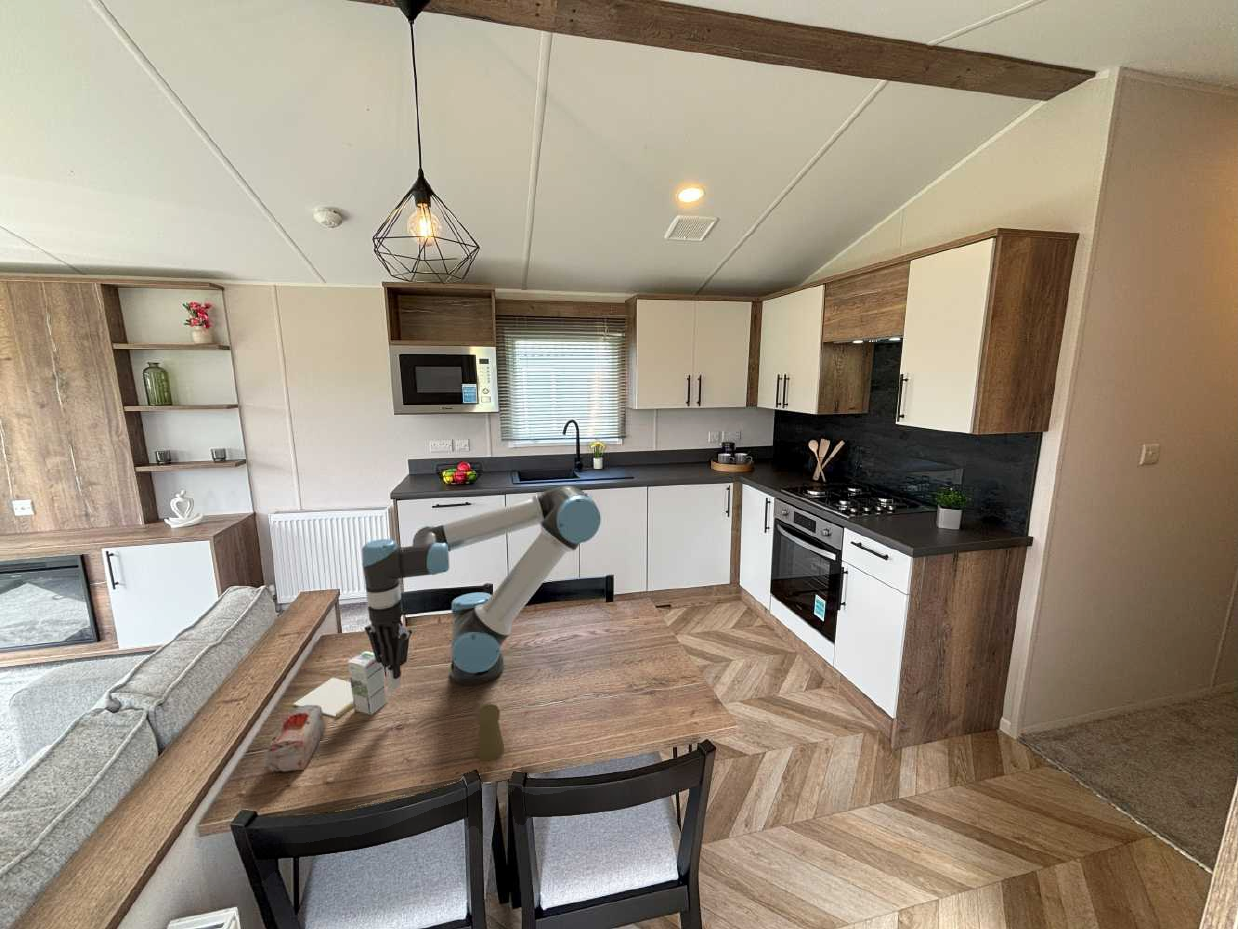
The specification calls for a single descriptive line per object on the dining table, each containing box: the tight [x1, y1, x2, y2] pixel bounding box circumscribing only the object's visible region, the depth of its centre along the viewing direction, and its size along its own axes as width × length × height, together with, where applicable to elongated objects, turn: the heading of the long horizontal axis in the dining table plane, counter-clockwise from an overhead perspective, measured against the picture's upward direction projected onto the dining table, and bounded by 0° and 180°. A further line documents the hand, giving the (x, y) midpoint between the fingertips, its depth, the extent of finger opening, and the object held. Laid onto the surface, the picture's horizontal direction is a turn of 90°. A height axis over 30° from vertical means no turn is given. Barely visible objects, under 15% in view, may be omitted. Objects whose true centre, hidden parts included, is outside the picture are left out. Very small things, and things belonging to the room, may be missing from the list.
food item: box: [265, 705, 326, 773], centre depth 114 cm, size 14×8×10 cm, turn 13°
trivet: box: [292, 677, 354, 719], centre depth 134 cm, size 16×12×1 cm
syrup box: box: [347, 650, 388, 716], centre depth 129 cm, size 6×6×14 cm
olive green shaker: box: [476, 703, 505, 762], centre depth 113 cm, size 6×6×11 cm
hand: (394, 688), depth 126 cm, fingers closed
